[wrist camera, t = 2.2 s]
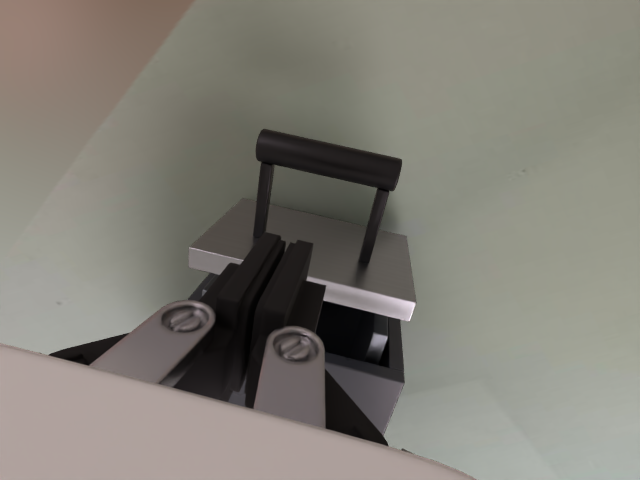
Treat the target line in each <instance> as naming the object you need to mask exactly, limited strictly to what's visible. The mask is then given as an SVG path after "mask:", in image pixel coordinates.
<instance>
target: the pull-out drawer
mask: <svg viewBox="0 0 640 480" xmlns="http://www.w3.org/2000/svg"><path fill="white" fill-rule="evenodd" d="M256 158H257V160H258V161H261V162H262V163H261V168H260V177H259V186H258V194H257V201H254V200H249V199H245V198H242V199H241V200H240V201H239V202H238V203H237V204H236V205H235V206H234V207H232V208H231V209H230V210H229V211H228V212H227V213H226V214H225V215H224V216H223V217H222V218H220V219H219V220H218V221H217V222H216V223H215V224H214V225H213V226H212V227H211V228H210V229H208V230H207V231H206V232H205V233H204V234H203V235H202V236H201V237H200V238H199V239H198V240H196V241H195V242H194V243H193V244H192V245H191V246H190V247H189V265H188V267H189V268H193V269H197V270H201V271H205V272H209V273H213V274H215V275H214V277H213V278H212V279H211V280H210V281H209V283H208V284H207V285H206V286H205V288H204V289H203V290H202V296H203V295H204V294H205V293H206V291H207V290H208V289H209V288H210V286H211V285H212V284H213V283H214V281H215V280H216V279H217V278H218V276H219V275H220V274H221V273H222V271H223V270H224V269H225V268H226V266H227V265H228V264H229V263H236V264H241V263H242V261H243V260H244V259H245V257H246V256H247V255H248V253H249V252H250V250H251V249H252V248H253V246H254V245H255V244H256V242H257V241H258V240H259V238H260V237H261V236H262V234H263V233H264V232H268V233H272V234H276V235H280V236H281V240H283V241H286V247H285V251H286V249H287V247H288V246H289V244H290V242H292V243H296V241H297V240H302V241H306V242H310V243H314V245H313V251H312V256H311V261H310V266H309V271H308V276H307V281H310V282H314V283H318V284H323V285H326V290H325V294H324V299H323V303H322V307H321V312H320V316H319V320H318V324H317V328H316V333H315V334H316V335H317V336H319V338H320V339H321V341H322V342H323V345H324V352H328V353H332V354H336V355H339V356H343V357H347V358H351V359H355V360H359V361H363V362H367V363H371V364H375V365H378V364H379V361H380V358H381V356H382V353H383V350H384V347H385V344H386V341H387V338H388V317H392V318H396V319H400V320H404V321H408V322H409V321H410V319H411V316H412V314H413V311H414V308H415V305H416V296H415V290H414V283H413V276H412V270H411V263H410V256H409V249H408V243H407V236H404V235H400V234H396V233H391V232H387V231H383V230H379V227H380V224H381V220H382V217H383V213H384V210H385V206H386V202H387V199H388V195H389V191H394V190H395V188H396V185H397V183H398V179H399V176H400V172H401V167H402V160H401V159H399V158H395V157H390V156H385V155H381V154H376V153H372V152H367V151H363V150H358V149H354V148H349V147H345V146H340V145H336V144H331V143H326V142H322V141H317V140H313V139H308V138H304V137H299V136H295V135H290V134H286V133H281V132H276V131H272V130H267V129H263V130H261V132H260V134H259V136H258V140H257V144H256ZM275 165H278V166H283V167H287V168H292V169H296V170H300V171H305V172H309V173H314V174H318V175H323V176H327V177H331V178H336V179H340V180H345V181H349V182H354V183H358V184H362V185H367V186H371V187H376V188H377V191H376V195H375V198H374V202H373V206H372V210H371V214H370V217H369V221H368V225H367V227H366V226H361V225H357V224H353V223H348V222H344V221H340V220H335V219H331V218H327V217H322V216H318V215H314V214H310V213H305V212H301V211H297V210H292V209H288V208H284V207H279V206H275V205H271V204H270V197H271V189H272V182H273V174H274V166H275Z"/></svg>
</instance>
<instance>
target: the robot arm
mask: <svg viewBox="0 0 640 480" xmlns="http://www.w3.org/2000/svg"><path fill="white" fill-rule="evenodd" d="M313 245H314V243H310V242H306V241H302V240H297V241H296V243H292V242H290V244H289V246H288V247H287V249H286V251H285V247H286V241H283V240H281V236H280V235H276V234H272V233H268V232H264V233H263V234H262V236H261V237H260V238H259V240H258V241H257V242H256V244H255V245H254V246H253V248H252V249H251V250H250V252H249V253H248V255H247V256H246V257H245V259H244V260H243V261H242V263H241V264H236V263H229V264H228V265H227V266H226V268H225V269H224V270H223V271H222V273H221V274H220V275H219V276H218V278H217V279H216V280H215V281H214V283H213V284H212V285H211V286H210V288H209V289H208V290H207V291H206V293H205V294H204V295H203V296H202V298H201V299H200V300H199V301H195V300H182V301H176V302H173V303H170V304H167V305H166V306H164V307H162V308H161V309H160V310H158V311H157V312H156V313H154V314H153V315H152V316H151V317H149V318H148V319H147V320H146V321H144V322H143V323H142V324H141V325H139V326H138V327H137V328H136V329H134V330H133V331H132V332H130V333H127V334H123V335H119V336H115V337H111V338H107V339H103V340H99V341H95V342H91V343H87V344H83V345H79V346H75V347H71V348H67V349H63V350H60V351H57V352H54V353H51V354H49V355H45V354H42V353H37V352H33V351H29V350H25V349H21V348H17V347H13V346H9V345H5V344H2V343H0V480H477V479H475V478H473V477H471V476H469V475H467V474H465V473H463V472H461V471H459V470H456V469H454V468H451V467H449V466H446V465H444V464H441V463H439V462H436V461H434V460H431V459H427V458H424V457H421V456H418V455H415V454H413V453H411V452H409V451H407V450H405V449H403V448H402V450H398V449H395V448H392V447H389V446H388V443H387V441H386V440H385V438H384V437H383V435H382V434H381V433H380V431H379V430H378V429H377V428H376V427H375V426H374V425H373V423H372V422H371V421H370V420H369V419H368V418H367V416H366V415H365V414H364V413H363V412H362V411H361V409H360V408H359V407H358V406H357V405H356V404H355V402H354V401H353V400H352V399H351V398H350V397H349V396H348V394H347V393H346V392H345V391H344V390H343V389H342V387H341V386H340V385H339V384H338V383H337V382H336V380H335V379H334V378H333V377H332V376H331V375H330V373H329V372H328V371H327V370H326V369H325V354H324V345H323V342H322V341H321V339H320V338H319V336H317V335H316V334H315V333H316V328H317V324H318V320H319V316H320V312H321V307H322V303H323V299H324V294H325V290H326V285H323V284H318V283H314V282H310V281H307V276H308V271H309V266H310V261H311V256H312V251H313ZM245 379H246V383H245V390H244V394H246V397H245V406H246V407H243V406H239V405H236V404H232V403H228V401H229V399H230V397H231V394H232V392H233V391H235V392H240V390H241V388H242V386H243V383H244V381H245Z"/></svg>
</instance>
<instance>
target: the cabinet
mask: <svg viewBox="0 0 640 480" xmlns="http://www.w3.org/2000/svg"><path fill="white" fill-rule="evenodd" d="M214 275H215V274H213V273H210V274H209V275H208V276H207V277H206V278H205V280H204V281H203V282H202V283H201V284H200V285H199V287H198V288H197V289H196V290H195V291H194V292H193V294H192V295H191V296H190V297H189V298H188V300H195V301H199V300H200V299H201V298H202V290H203V289H204V288H205V286H206V285H207V284H208V283H209V281H210V280H211V279H212V278H213V277H214ZM324 354H325V369H326V370H327V371H328V372H329V373H330V375H331V376H332V377H333V378H334V379H335V380H336V382H337V383H338V384H339V385H340V386H341V387H342V389H343V390H344V391H345V392H346V393H347V394H348V396H349V397H350V398H351V399H352V400H353V401H354V402H355V404H356V405H357V406H358V407H359V408H360V409H361V411H362V412H363V413H364V414H365V415H366V416H367V418H368V419H369V420H370V421H371V422H372V423H373V425H374V426H375V427H376V428H377V429H378V430H379V431H380V433H381V434H382V435H384V433H385V430H386V428H387V426H388V423H389V421H390V418H391V416H392V413H393V411H394V408H395V406H396V403H397V401H398V398H399V396H400V393H401V391H402V388H403V386H404V383H405V381H404V365H403V351H402V337H401V324H400V319H396V318H392V317H388V338H387V341H386V344H385V347H384V350H383V353H382V356H381V358H380V361H379V364H378V365H375V364H371V363H367V362H363V361H359V360H355V359H351V358H347V357H343V356H339V355H336V354H332V353H328V352H324ZM245 383H246V379H245V381H244V383H243V386H242V388H241V390H240V392H235V391H233V392H232V394H231V397H230V399H229V401H228V403H232V404H236V405H239V406H243V407H246V406H245V397H246V394H244V390H245Z"/></svg>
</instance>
